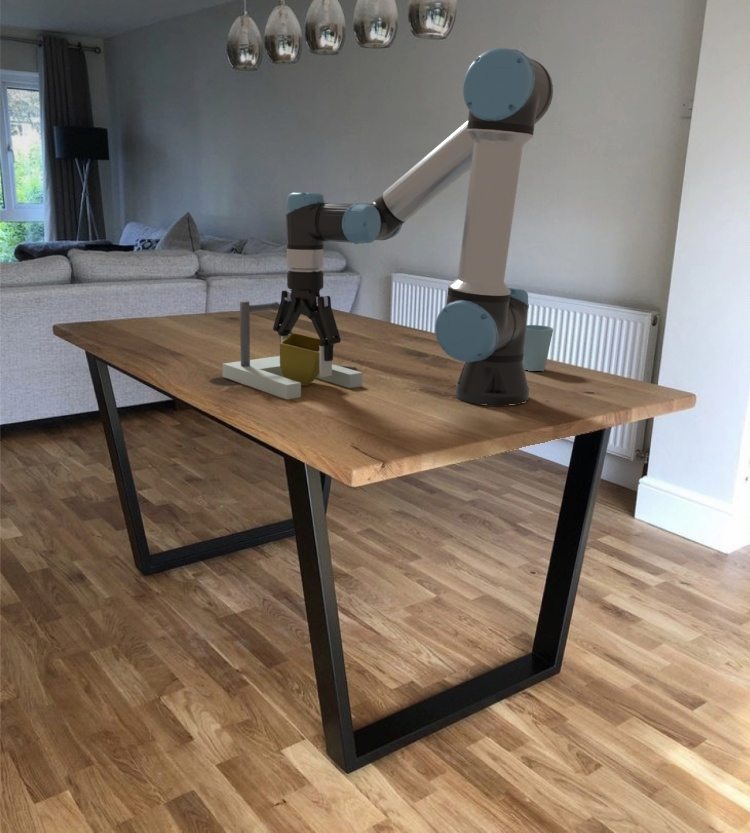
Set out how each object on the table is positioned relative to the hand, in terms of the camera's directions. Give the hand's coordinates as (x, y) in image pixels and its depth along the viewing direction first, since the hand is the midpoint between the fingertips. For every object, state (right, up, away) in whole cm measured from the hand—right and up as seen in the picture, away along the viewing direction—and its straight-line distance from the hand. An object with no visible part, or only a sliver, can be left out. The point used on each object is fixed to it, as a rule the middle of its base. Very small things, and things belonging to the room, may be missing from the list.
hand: (305, 370), depth 172 cm
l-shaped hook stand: (-3, -2, +4) cm, 6 cm away
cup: (+53, +1, +25) cm, 59 cm away
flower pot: (-1, -2, +2) cm, 3 cm away
